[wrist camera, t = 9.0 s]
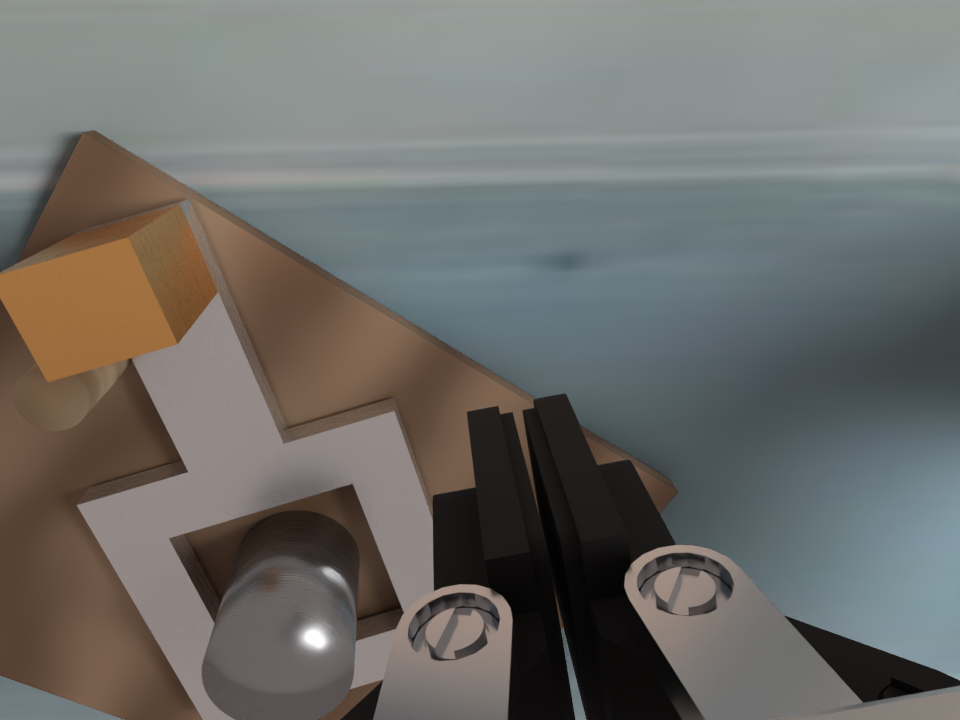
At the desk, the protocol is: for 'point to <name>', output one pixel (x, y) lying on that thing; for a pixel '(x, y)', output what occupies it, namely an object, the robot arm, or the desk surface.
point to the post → (286, 621)
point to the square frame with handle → (208, 428)
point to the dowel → (63, 395)
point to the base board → (147, 445)
